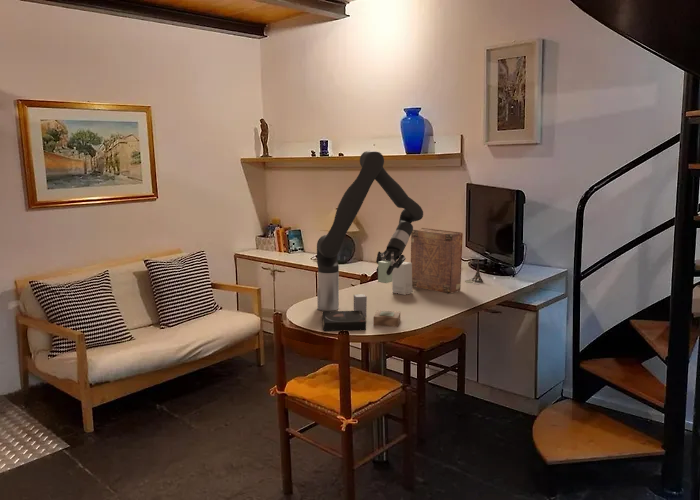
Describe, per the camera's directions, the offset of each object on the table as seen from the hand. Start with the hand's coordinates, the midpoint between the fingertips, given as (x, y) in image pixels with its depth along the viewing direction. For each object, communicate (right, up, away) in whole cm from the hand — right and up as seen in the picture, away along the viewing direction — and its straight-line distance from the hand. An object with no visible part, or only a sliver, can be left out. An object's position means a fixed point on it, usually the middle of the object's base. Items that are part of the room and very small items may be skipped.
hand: (382, 273), depth 261 cm
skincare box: (+12, -12, +40) cm, 44 cm away
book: (+30, -10, +51) cm, 60 cm away
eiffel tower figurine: (+55, -8, +68) cm, 87 cm away
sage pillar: (+1, -4, +2) cm, 5 cm away
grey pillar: (-10, -18, 0) cm, 21 cm away
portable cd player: (-17, -21, -13) cm, 31 cm away
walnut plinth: (+1, -21, -10) cm, 23 cm away
